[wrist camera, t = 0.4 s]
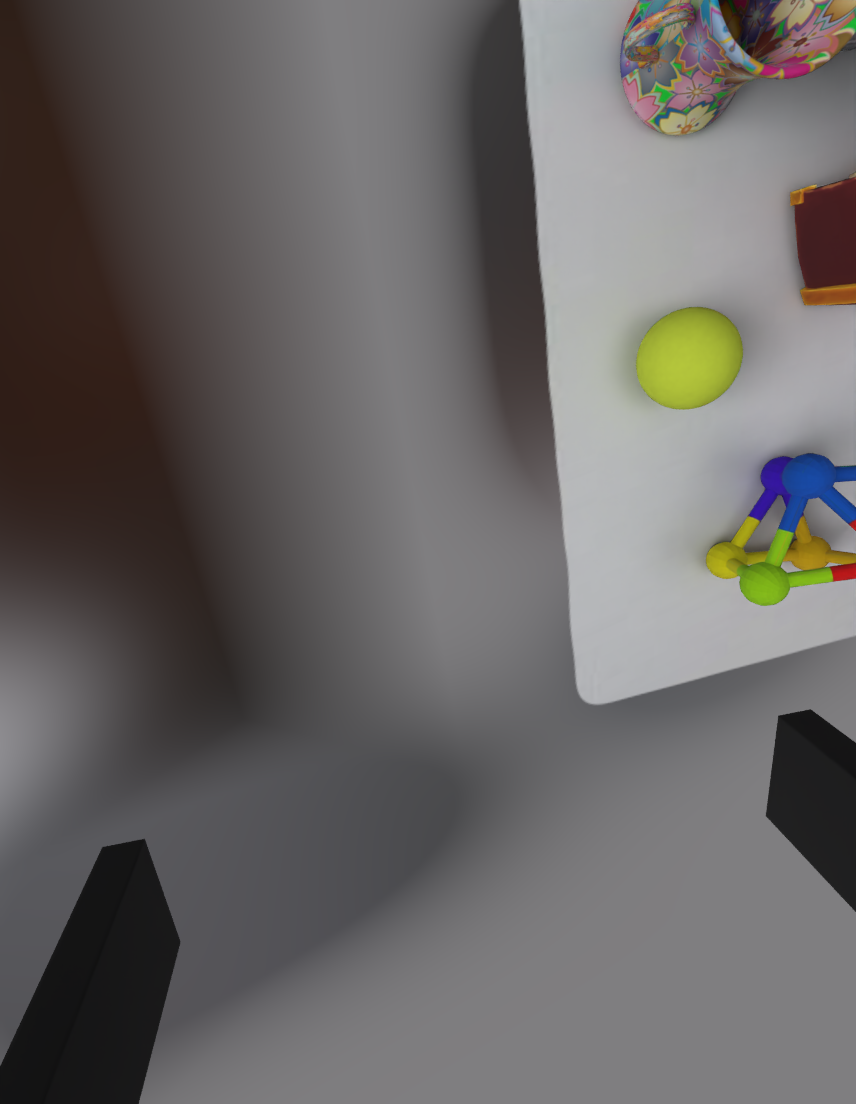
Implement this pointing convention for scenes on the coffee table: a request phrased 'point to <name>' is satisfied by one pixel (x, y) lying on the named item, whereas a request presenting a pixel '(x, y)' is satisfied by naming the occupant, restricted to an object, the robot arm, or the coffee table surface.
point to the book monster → (827, 241)
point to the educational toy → (789, 532)
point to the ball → (689, 358)
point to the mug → (721, 52)
